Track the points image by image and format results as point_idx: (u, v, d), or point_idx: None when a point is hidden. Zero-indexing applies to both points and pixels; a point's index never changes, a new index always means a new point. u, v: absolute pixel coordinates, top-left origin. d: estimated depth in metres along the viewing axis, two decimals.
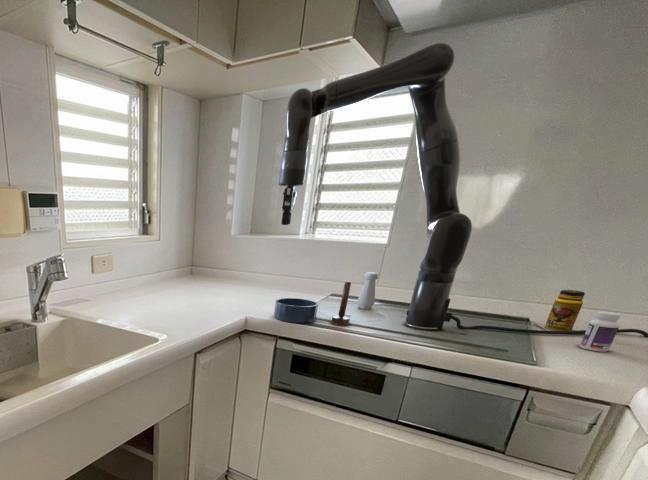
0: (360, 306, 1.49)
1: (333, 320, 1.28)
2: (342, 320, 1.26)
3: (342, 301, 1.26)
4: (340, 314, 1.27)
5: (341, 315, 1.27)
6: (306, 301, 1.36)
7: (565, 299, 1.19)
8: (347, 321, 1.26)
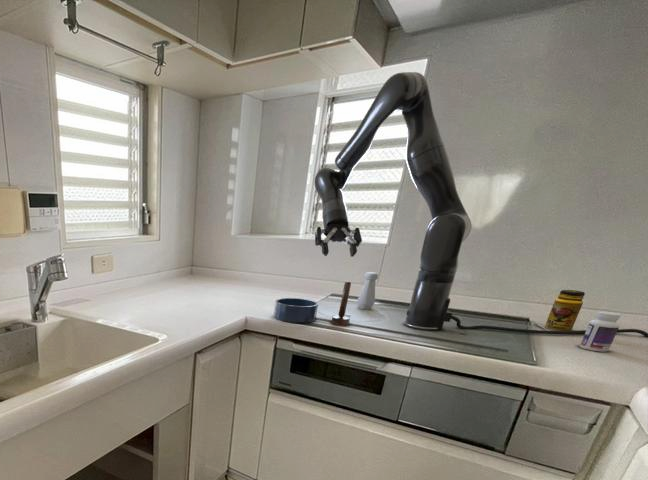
0: (360, 306, 1.49)
1: (333, 320, 1.28)
2: (342, 320, 1.26)
3: (342, 301, 1.26)
4: (340, 314, 1.27)
5: (341, 315, 1.27)
6: (306, 301, 1.36)
7: (565, 299, 1.19)
8: (347, 321, 1.26)
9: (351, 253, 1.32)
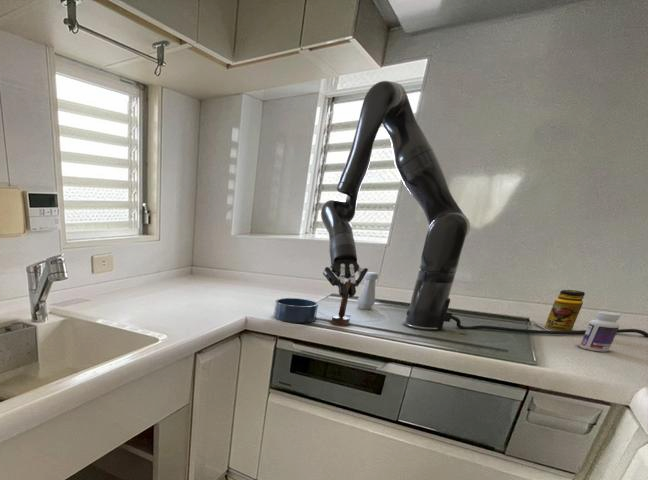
0: (360, 306, 1.49)
1: (333, 320, 1.28)
2: (342, 320, 1.26)
3: (342, 301, 1.26)
4: (340, 314, 1.27)
5: (341, 315, 1.27)
6: (306, 301, 1.36)
7: (565, 299, 1.19)
8: (347, 321, 1.26)
9: (350, 294, 1.24)
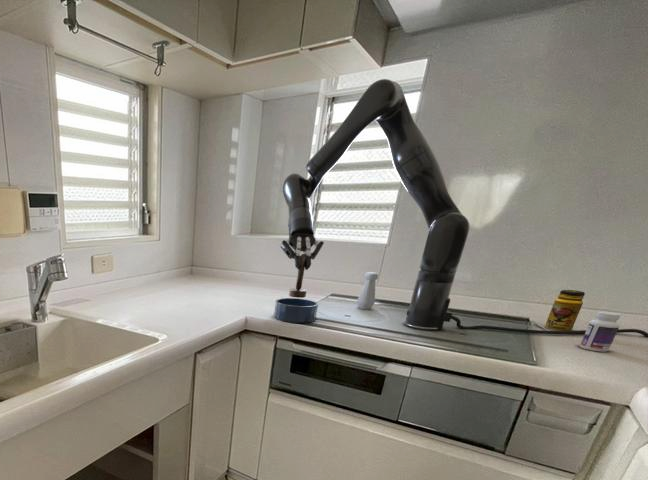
0: (360, 306, 1.49)
1: (290, 292, 1.30)
2: (298, 292, 1.28)
3: (298, 273, 1.28)
4: (297, 286, 1.30)
5: (298, 287, 1.30)
6: (306, 301, 1.36)
7: (565, 299, 1.19)
8: (303, 293, 1.29)
9: (305, 266, 1.26)
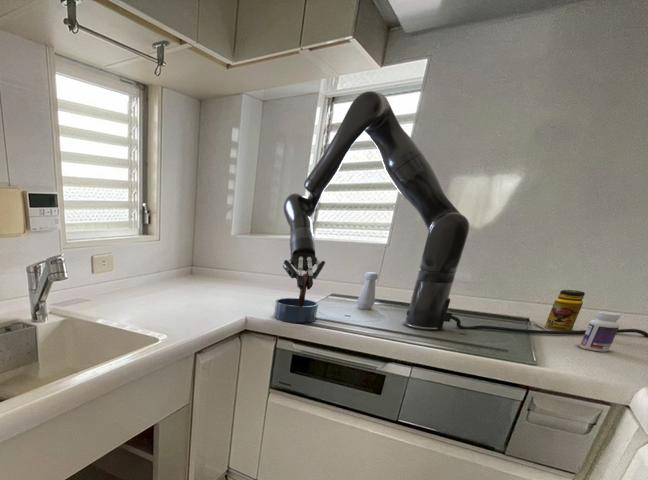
0: (360, 306, 1.49)
1: None
2: None
3: (300, 293, 1.29)
4: None
5: None
6: (306, 301, 1.36)
7: (565, 299, 1.19)
8: None
9: (307, 286, 1.28)
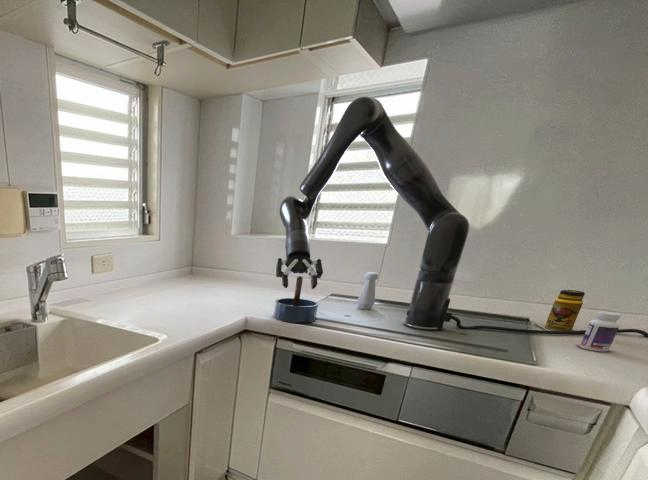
0: (360, 306, 1.49)
1: None
2: None
3: (295, 295, 1.31)
4: None
5: None
6: (306, 301, 1.36)
7: (565, 299, 1.19)
8: None
9: (312, 285, 1.29)
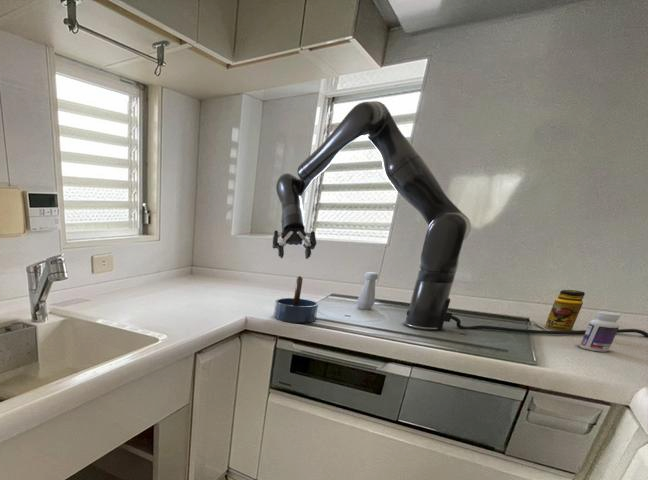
0: (360, 306, 1.49)
1: None
2: None
3: (295, 295, 1.31)
4: None
5: None
6: (306, 301, 1.36)
7: (565, 299, 1.19)
8: None
9: (306, 255, 1.38)
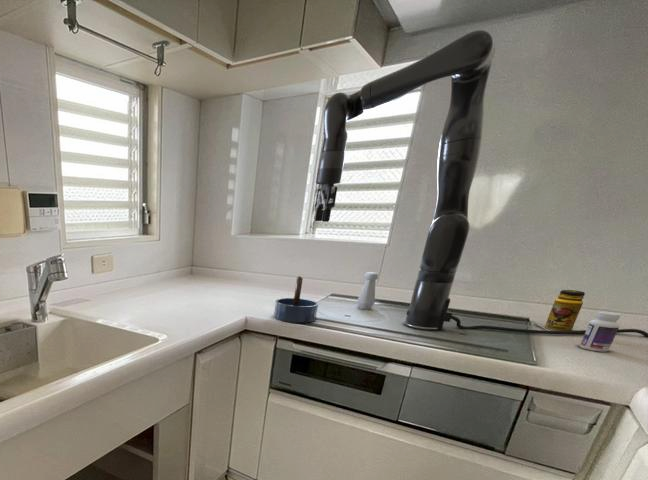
0: (360, 306, 1.49)
1: None
2: None
3: (295, 295, 1.31)
4: None
5: None
6: (306, 301, 1.36)
7: (565, 299, 1.19)
8: None
9: (318, 218, 1.39)
